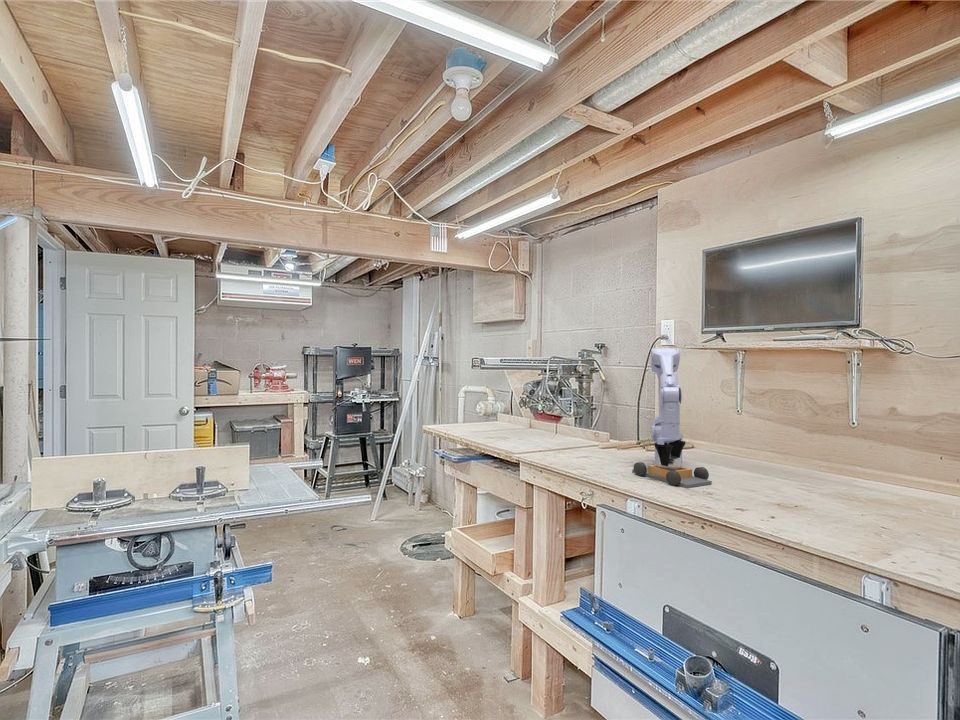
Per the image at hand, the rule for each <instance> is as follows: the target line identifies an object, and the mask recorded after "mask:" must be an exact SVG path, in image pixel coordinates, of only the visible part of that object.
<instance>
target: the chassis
mask: <svg viewBox="0 0 960 720" xmlns="http://www.w3.org/2000/svg"><path fill="white" fill-rule="evenodd" d="M650 465H651V466H649V465H648V466H646V464H645V463H644V462H642V461H638V462H635V463H634V464H633V469H632V470H631V473H632V474H635V475H636V476H638V477H639V476H640V477H641V476H643V477H646V478H650V479H654V480H656V481H661V482H664V483H667V484H669V486H677V487H680V488H681V487H682V488H685V489H690V488H697V487H703V486H711V485H712V484H713V483H712V482H713V481H711V480H708V479H709V477H710V473H709V471H708V469H707V468H705V467H704V466H698V467H695V468H694V470H693V469H692V468H688V467H685V466H683V467H681V470H676V471H670V470H666V469H662V468H658V465H652V464H650Z"/></svg>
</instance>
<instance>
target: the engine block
mask: <svg viewBox="0 0 960 720" xmlns="http://www.w3.org/2000/svg"><path fill="white" fill-rule="evenodd" d="M658 468H662V469H666V470H670V471H676V470H681V457H675V456H670V459H669V465H668V466H662V465H661V462H660V458H659V456H658Z"/></svg>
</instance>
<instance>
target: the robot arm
mask: <svg viewBox="0 0 960 720" xmlns="http://www.w3.org/2000/svg"><path fill="white" fill-rule="evenodd" d="M680 359H681V351H680V349H679V347H676V348H675V347H673V348H672V347H671V348H669V347H668V348H667V347H666V348H665V347H663V348H659V347H658V348H657V347H652V348H651V349H650V368H651V371H652V372H654V373H655V374H656V376H657V380H658V381H657V382H658V383H657V385H658V387H657V388H658V391H657V392H658V416H656V417H655V418H653V419H652V420H651V425H650V440H651V441H652V442H654V443H653V445H654V464H648V466H651V465H658V456H659V458H660V462H661V465H662V466H668V465H669V459H670V456H675V457H681V467H684V466H683V449H684V447H685V445H686V441H685V440H683V437H684V436H683V434H682V433H681V427H680V419H681V414H680V413H681V412H680V411H681V409H680V408H681V404H682V399H683V397H682V396H683V394H682V391H683V390H682V388H681V385H679V380H678V379H679V378H678V376H677V375H678V374H676V372H677V371H678V369H679V365H680Z"/></svg>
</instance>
